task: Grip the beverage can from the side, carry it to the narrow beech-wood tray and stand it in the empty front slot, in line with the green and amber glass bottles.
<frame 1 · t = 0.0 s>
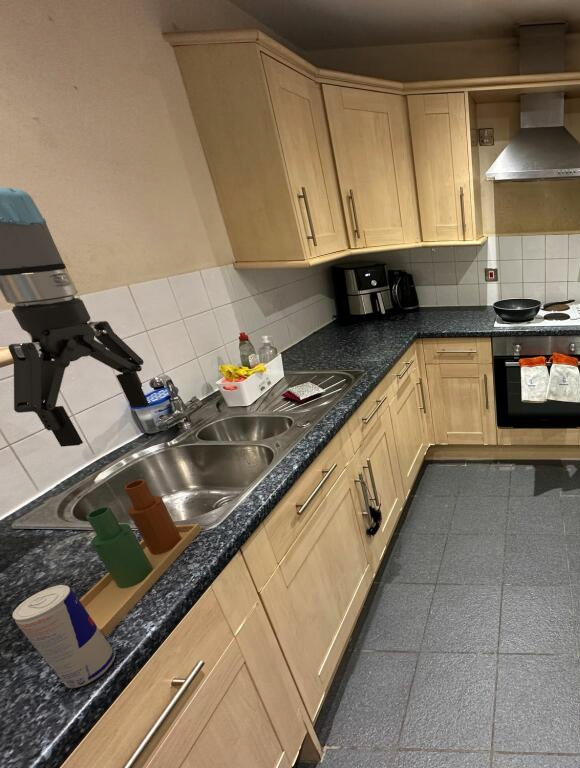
hand: (109, 424, 70), 31 cm above the worktop, tool pointing down, fingers open, 13 cm apart
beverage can: (93, 671, 62), on the worktop
green bottle: (118, 546, 74), in the tray
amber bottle: (167, 546, 85), resting on tray
tray: (136, 578, 77), on the worktop
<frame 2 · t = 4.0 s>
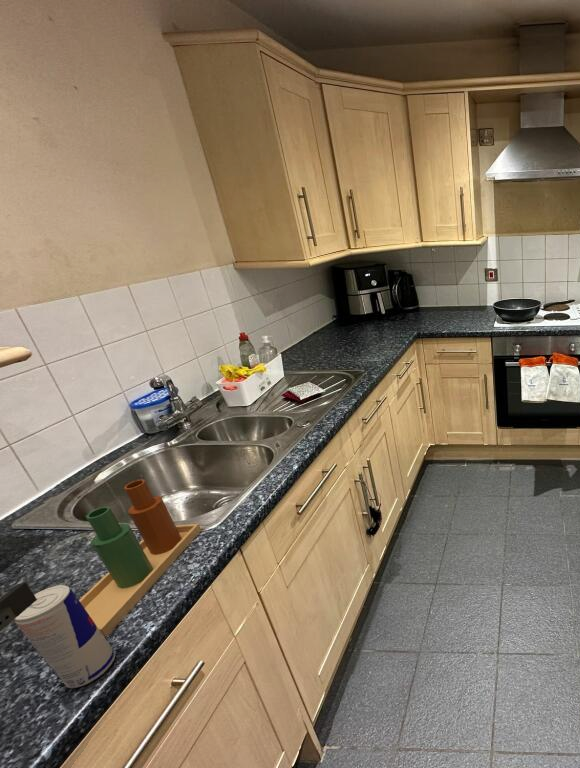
nothing on the worktop moved.
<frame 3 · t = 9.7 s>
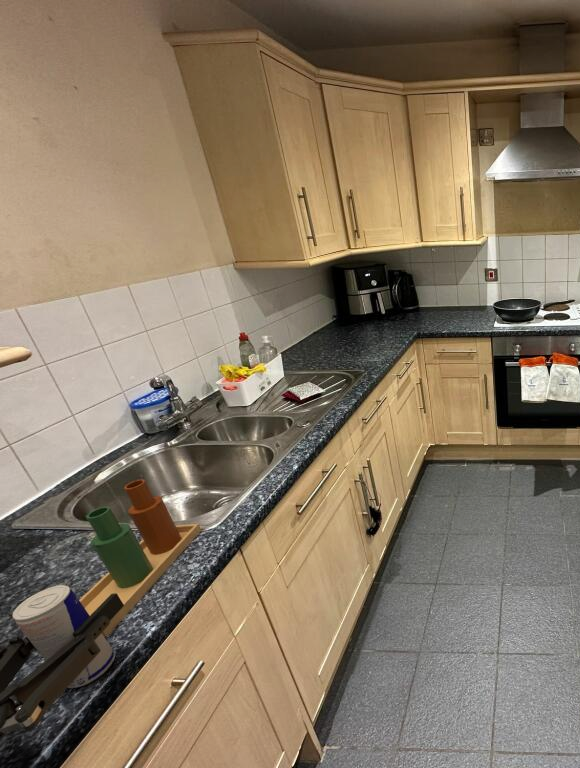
hand: (97, 601, 63), 8 cm above the worktop, tool horizontal, fingers closed on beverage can, 6 cm apart
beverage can: (92, 671, 62), on the worktop, touching gripper
when the fingers open (9 cm above the worktop, at t = 17.7 s): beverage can stays where it is, resting on tray.
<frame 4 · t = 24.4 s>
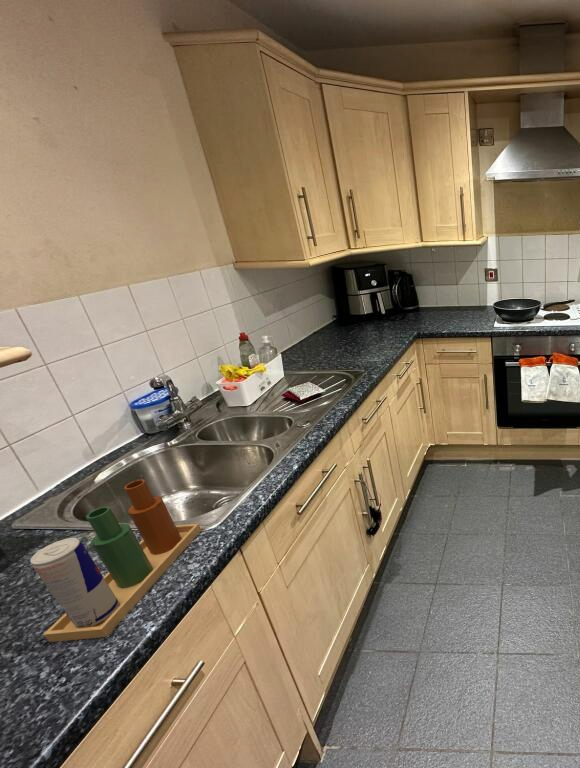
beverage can: (99, 615, 70), resting on tray
at the end: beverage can 0.1 cm from the target spot on the worktop beside the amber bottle, resting on tray; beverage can tilted 0°; the gripper is holding nothing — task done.
